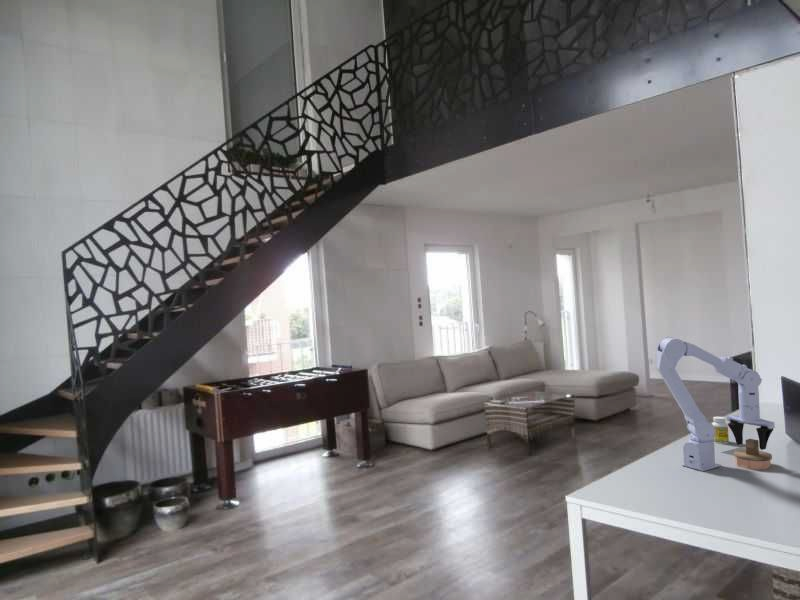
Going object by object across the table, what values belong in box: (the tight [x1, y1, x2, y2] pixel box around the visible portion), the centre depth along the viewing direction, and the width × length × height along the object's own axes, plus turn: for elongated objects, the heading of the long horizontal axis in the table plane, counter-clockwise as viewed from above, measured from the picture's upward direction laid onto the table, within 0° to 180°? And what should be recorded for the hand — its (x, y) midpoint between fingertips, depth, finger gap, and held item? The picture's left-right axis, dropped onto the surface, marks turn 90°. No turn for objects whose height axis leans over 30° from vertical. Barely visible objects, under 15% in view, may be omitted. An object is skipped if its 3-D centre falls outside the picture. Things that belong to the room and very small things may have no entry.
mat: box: [720, 446, 746, 456], centre depth 197 cm, size 11×11×1 cm
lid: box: [733, 438, 773, 461], centre depth 184 cm, size 11×11×5 cm
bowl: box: [733, 455, 772, 471], centre depth 184 cm, size 10×10×3 cm
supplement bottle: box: [711, 416, 730, 445], centre depth 213 cm, size 5×5×10 cm
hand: (751, 446), depth 184 cm, fingers open, 7 cm apart
